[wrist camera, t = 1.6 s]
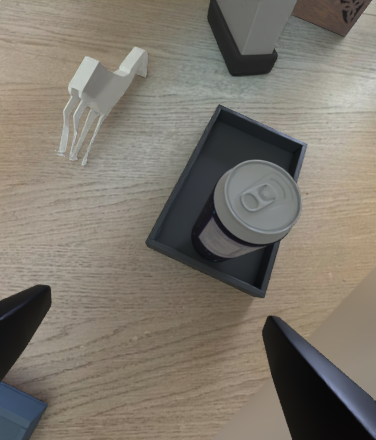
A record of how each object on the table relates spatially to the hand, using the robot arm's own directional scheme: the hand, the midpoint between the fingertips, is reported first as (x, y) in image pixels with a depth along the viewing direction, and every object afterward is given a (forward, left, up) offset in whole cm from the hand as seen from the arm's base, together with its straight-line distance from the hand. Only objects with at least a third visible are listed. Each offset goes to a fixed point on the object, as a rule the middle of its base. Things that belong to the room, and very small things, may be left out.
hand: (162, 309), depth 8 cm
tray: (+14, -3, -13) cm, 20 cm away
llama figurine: (+18, +16, -14) cm, 28 cm away
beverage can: (+8, -3, -13) cm, 16 cm away
